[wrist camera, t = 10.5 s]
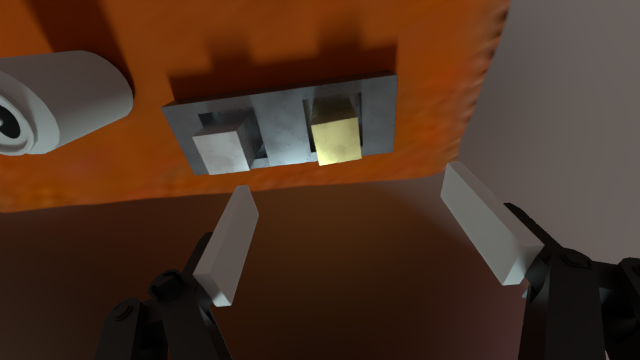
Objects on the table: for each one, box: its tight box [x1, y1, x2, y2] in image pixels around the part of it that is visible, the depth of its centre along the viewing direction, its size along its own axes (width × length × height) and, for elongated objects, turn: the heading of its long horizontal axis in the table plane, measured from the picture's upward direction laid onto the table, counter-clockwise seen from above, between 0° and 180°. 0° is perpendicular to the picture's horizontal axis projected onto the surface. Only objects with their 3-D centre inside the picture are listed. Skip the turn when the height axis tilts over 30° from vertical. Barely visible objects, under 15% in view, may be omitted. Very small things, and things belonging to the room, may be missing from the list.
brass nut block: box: [311, 98, 362, 165], centre depth 26 cm, size 4×4×7 cm
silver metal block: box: [192, 110, 262, 175], centre depth 27 cm, size 4×4×7 cm
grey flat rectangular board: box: [161, 70, 397, 175], centre depth 29 cm, size 26×9×3 cm, turn 97°
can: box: [0, 50, 133, 155], centre depth 22 cm, size 8×8×12 cm
